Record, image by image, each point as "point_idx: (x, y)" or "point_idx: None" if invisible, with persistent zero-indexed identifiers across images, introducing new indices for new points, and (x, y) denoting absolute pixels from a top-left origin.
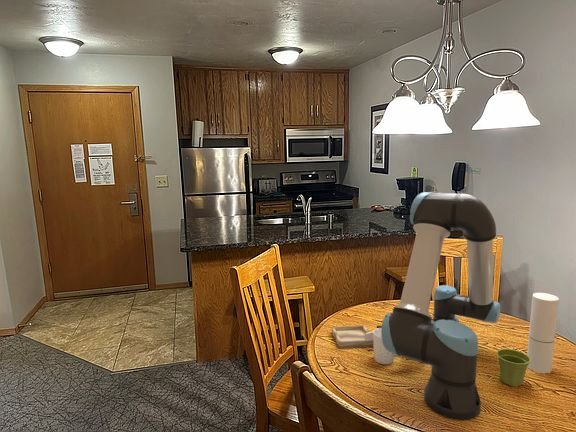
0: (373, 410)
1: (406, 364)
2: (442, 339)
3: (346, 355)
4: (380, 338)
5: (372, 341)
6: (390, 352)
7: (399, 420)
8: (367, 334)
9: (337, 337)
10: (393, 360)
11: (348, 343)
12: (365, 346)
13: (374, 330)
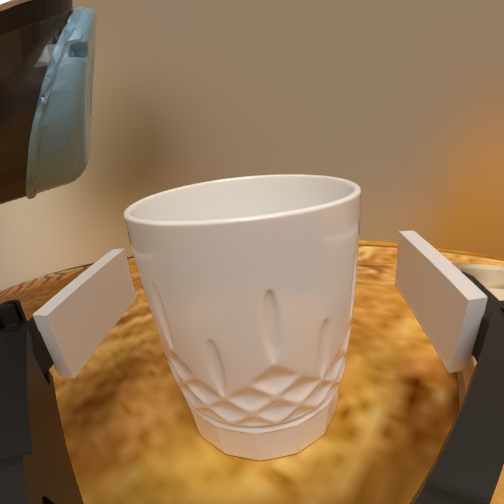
0: None
1: (113, 470)
2: None
3: (382, 296)
4: (207, 191)
5: None
6: (126, 266)
7: (44, 277)
8: (401, 240)
9: (495, 266)
10: (198, 427)
11: None
12: (458, 375)
13: (328, 179)
